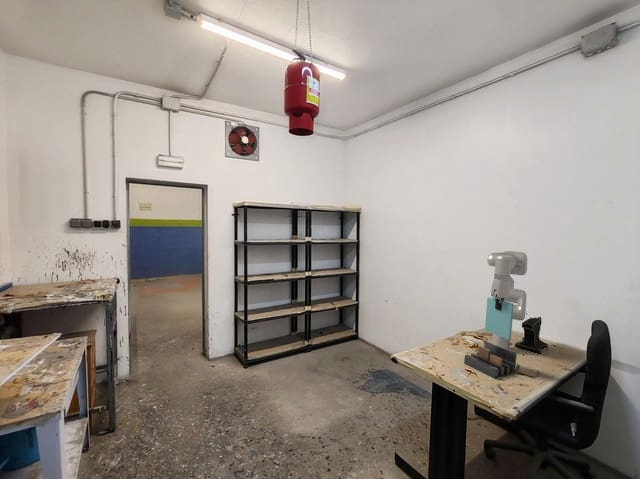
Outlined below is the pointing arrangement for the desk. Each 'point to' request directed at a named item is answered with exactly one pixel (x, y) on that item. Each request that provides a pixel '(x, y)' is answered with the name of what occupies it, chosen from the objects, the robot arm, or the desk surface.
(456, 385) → the desk surface
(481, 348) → the walnut offcut
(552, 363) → the desk surface
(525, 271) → the robot arm
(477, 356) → the offcut rack
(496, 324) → the tall sheet
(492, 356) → the oak offcut
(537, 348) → the anvil
